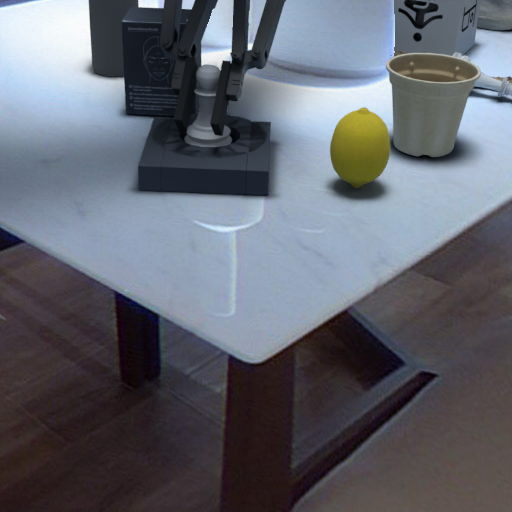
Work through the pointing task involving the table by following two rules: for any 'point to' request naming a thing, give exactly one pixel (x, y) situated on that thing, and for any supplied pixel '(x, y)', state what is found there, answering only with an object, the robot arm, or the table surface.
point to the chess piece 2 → (490, 81)
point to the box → (150, 64)
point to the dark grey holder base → (206, 159)
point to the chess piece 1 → (206, 111)
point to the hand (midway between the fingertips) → (198, 127)
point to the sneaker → (495, 14)
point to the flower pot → (429, 100)
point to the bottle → (108, 34)
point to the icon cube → (435, 25)
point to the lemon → (360, 147)
